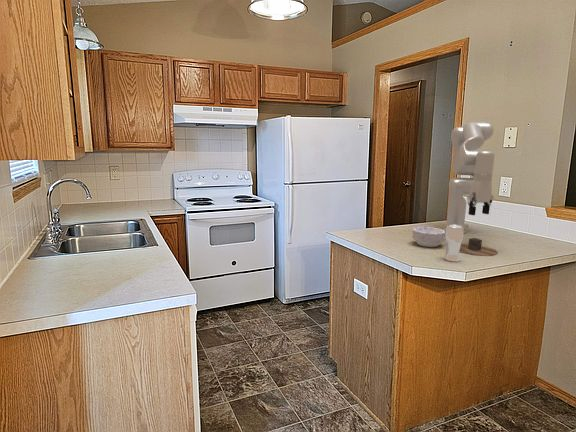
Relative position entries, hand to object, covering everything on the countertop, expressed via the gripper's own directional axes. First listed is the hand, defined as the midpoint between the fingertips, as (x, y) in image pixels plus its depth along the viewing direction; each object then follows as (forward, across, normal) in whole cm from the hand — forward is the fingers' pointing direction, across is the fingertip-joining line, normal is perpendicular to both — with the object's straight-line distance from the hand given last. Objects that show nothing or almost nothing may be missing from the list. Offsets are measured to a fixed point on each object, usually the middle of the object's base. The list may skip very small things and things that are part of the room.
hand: (478, 214), depth 182 cm
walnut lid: (+18, 0, 0) cm, 18 cm away
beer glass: (+18, +24, +7) cm, 30 cm away
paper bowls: (+18, +14, -16) cm, 28 cm away
